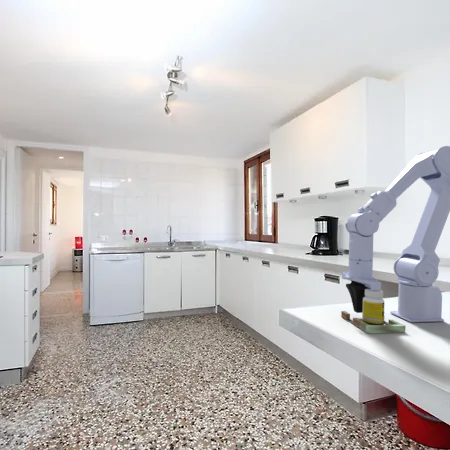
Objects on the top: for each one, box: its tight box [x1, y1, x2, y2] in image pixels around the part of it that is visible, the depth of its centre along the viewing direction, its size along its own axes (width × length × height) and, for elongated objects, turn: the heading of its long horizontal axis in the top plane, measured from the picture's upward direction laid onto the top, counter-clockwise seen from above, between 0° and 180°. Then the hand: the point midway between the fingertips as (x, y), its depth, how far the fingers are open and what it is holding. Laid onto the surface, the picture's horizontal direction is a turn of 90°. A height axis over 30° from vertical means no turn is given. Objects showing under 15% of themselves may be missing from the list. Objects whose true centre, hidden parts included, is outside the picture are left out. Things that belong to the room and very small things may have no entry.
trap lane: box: [340, 310, 406, 335], centre depth 77 cm, size 9×12×2 cm
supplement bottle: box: [361, 289, 385, 325], centre depth 76 cm, size 5×5×8 cm
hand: (359, 311), depth 82 cm, fingers closed
